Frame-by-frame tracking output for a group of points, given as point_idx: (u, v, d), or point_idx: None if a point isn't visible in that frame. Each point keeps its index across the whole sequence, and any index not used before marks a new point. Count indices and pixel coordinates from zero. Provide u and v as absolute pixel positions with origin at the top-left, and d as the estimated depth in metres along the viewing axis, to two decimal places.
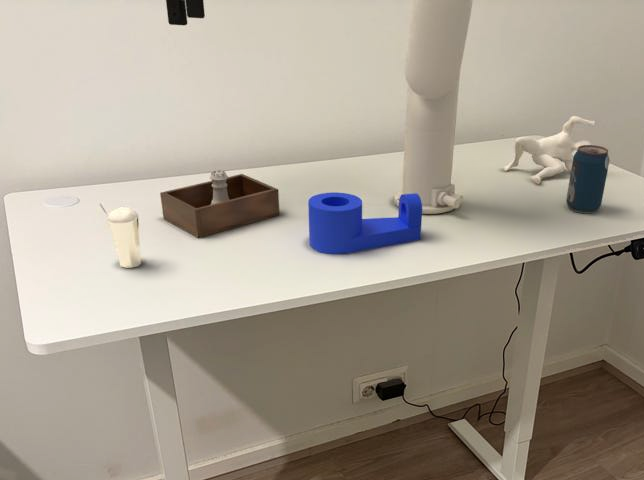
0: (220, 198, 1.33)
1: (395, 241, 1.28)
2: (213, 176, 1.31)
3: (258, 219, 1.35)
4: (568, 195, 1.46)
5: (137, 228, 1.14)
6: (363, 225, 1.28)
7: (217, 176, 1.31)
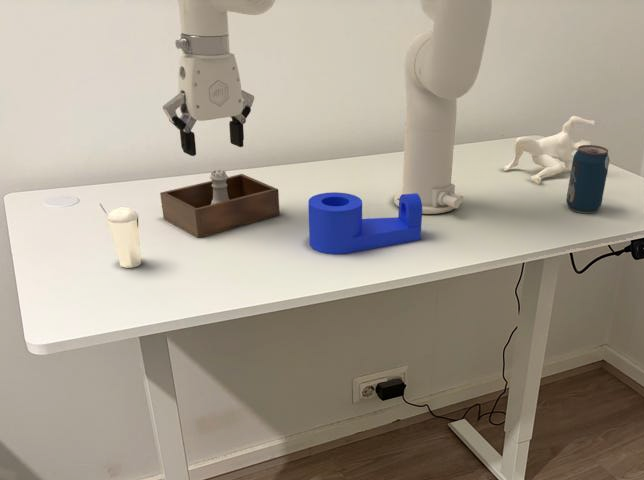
0: (220, 198, 1.33)
1: (395, 241, 1.28)
2: (213, 176, 1.31)
3: (258, 219, 1.35)
4: (568, 195, 1.46)
5: (137, 228, 1.14)
6: (363, 225, 1.28)
7: (217, 176, 1.31)
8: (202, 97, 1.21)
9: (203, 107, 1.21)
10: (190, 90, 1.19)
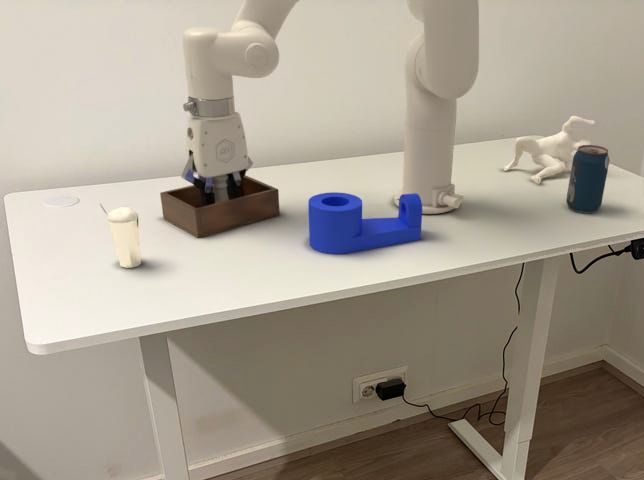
0: (220, 198, 1.33)
1: (395, 241, 1.28)
2: None
3: (258, 219, 1.35)
4: (568, 195, 1.46)
5: (137, 228, 1.14)
6: (363, 225, 1.28)
7: (217, 176, 1.31)
8: (209, 156, 1.26)
9: (210, 165, 1.27)
10: (198, 150, 1.24)
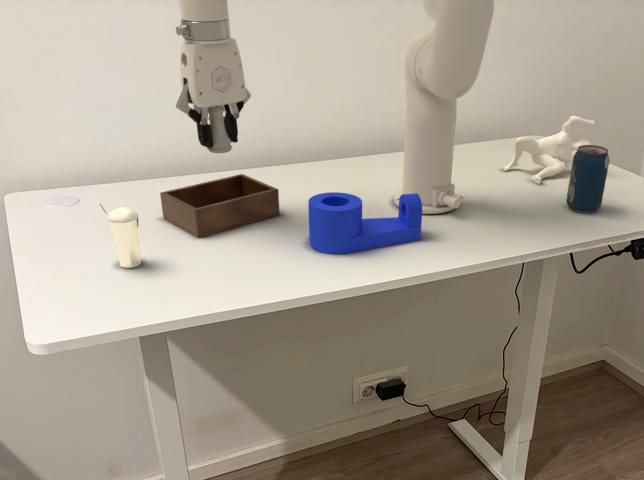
0: (217, 132, 1.27)
1: (395, 241, 1.28)
2: (209, 108, 1.25)
3: (258, 219, 1.35)
4: (568, 195, 1.46)
5: (137, 228, 1.14)
6: (363, 225, 1.28)
7: (213, 107, 1.24)
8: (205, 84, 1.20)
9: (206, 94, 1.21)
10: (192, 77, 1.18)
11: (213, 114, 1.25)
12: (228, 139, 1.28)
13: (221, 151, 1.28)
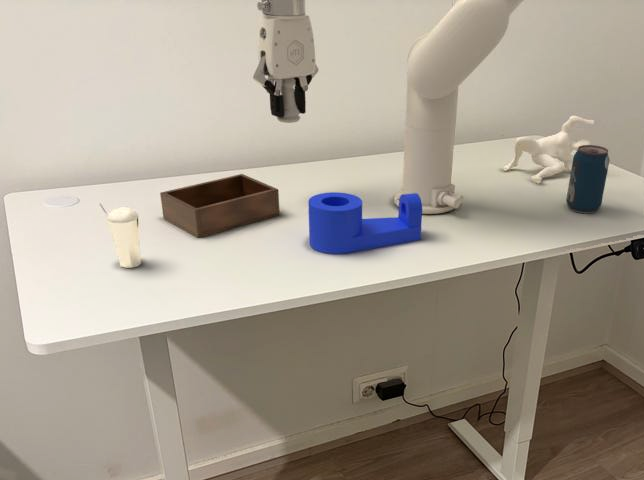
0: (288, 103, 1.36)
1: (395, 241, 1.28)
2: (282, 79, 1.34)
3: (258, 219, 1.35)
4: (568, 195, 1.46)
5: (137, 228, 1.14)
6: (363, 225, 1.28)
7: (286, 79, 1.34)
8: (281, 56, 1.29)
9: (282, 66, 1.30)
10: (270, 49, 1.28)
11: (285, 85, 1.34)
12: (297, 110, 1.38)
13: (291, 121, 1.37)
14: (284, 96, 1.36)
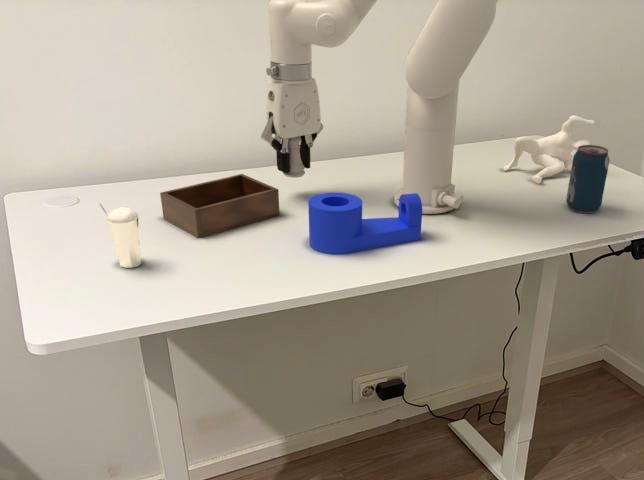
0: (294, 159, 1.42)
1: (395, 241, 1.28)
2: None
3: (258, 219, 1.35)
4: (568, 195, 1.46)
5: (137, 228, 1.14)
6: (363, 225, 1.28)
7: None
8: (288, 118, 1.36)
9: (288, 126, 1.36)
10: (278, 112, 1.34)
11: (291, 143, 1.41)
12: (302, 165, 1.44)
13: (296, 176, 1.44)
14: (290, 153, 1.42)
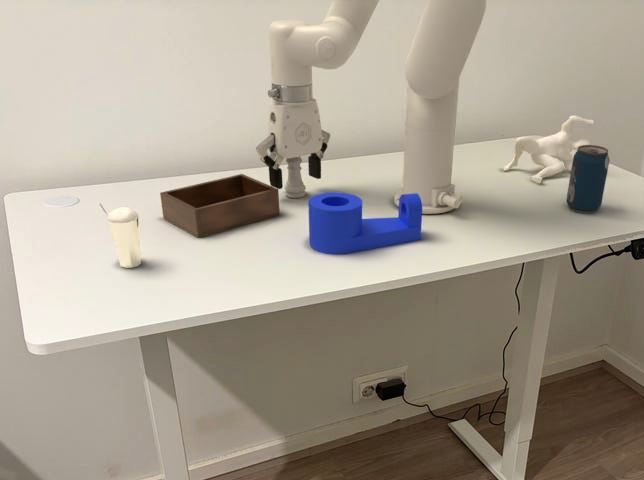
0: (295, 180, 1.45)
1: (395, 241, 1.28)
2: (289, 159, 1.43)
3: (258, 219, 1.35)
4: (568, 195, 1.46)
5: (137, 228, 1.14)
6: (363, 225, 1.28)
7: (293, 159, 1.43)
8: (290, 138, 1.38)
9: (290, 147, 1.38)
10: (280, 133, 1.36)
11: (292, 165, 1.43)
12: (303, 186, 1.46)
13: (297, 196, 1.46)
14: (291, 174, 1.44)
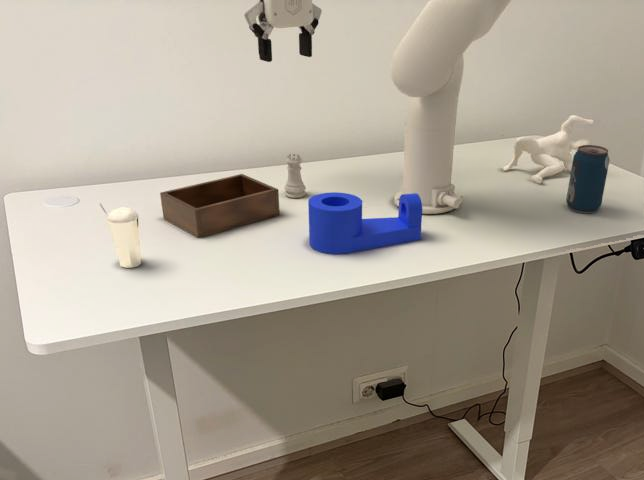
0: (295, 180, 1.45)
1: (395, 241, 1.28)
2: (289, 159, 1.43)
3: (258, 219, 1.35)
4: (568, 195, 1.46)
5: (137, 228, 1.14)
6: (363, 225, 1.28)
7: (293, 159, 1.43)
8: (279, 5, 1.34)
9: (280, 15, 1.35)
10: None
11: (292, 165, 1.43)
12: (303, 186, 1.46)
13: (297, 196, 1.46)
14: (291, 174, 1.44)
